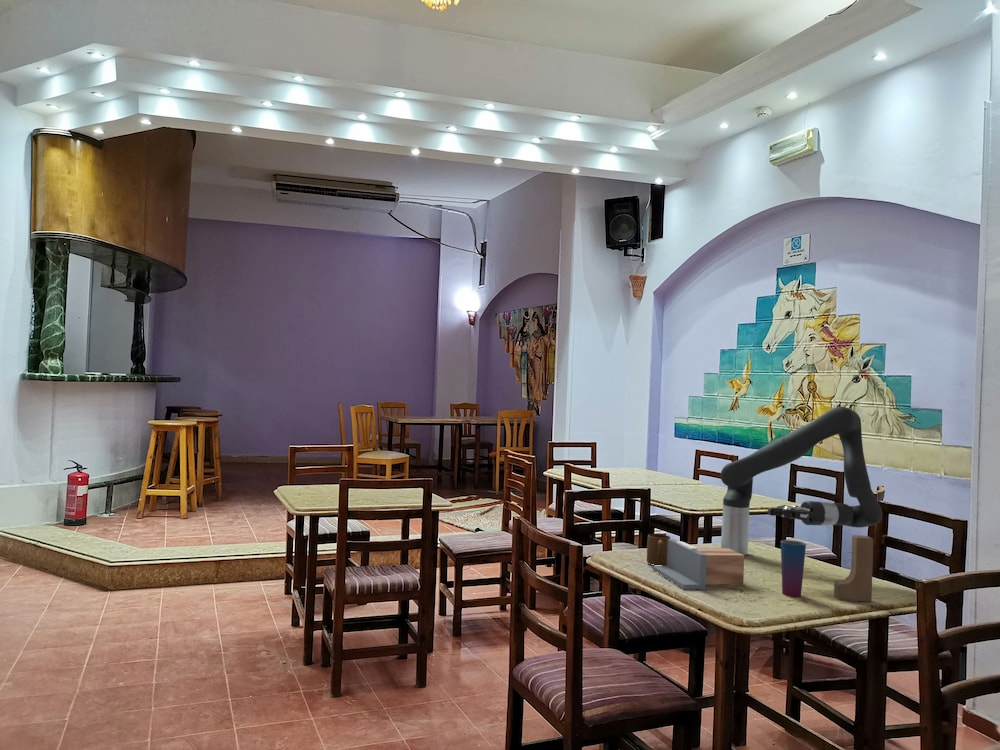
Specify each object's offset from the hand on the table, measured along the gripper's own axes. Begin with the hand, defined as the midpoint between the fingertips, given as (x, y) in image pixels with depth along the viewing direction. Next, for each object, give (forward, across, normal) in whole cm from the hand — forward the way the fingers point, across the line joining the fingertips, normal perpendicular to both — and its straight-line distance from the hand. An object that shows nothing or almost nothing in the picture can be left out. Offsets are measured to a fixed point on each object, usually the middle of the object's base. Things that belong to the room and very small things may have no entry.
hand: (769, 511), depth 227 cm
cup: (+2, +18, +21) cm, 28 cm away
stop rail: (+30, +1, +22) cm, 37 cm away
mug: (+28, -17, +22) cm, 40 cm away
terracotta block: (+19, +2, +22) cm, 29 cm away
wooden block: (-14, +23, +21) cm, 34 cm away
